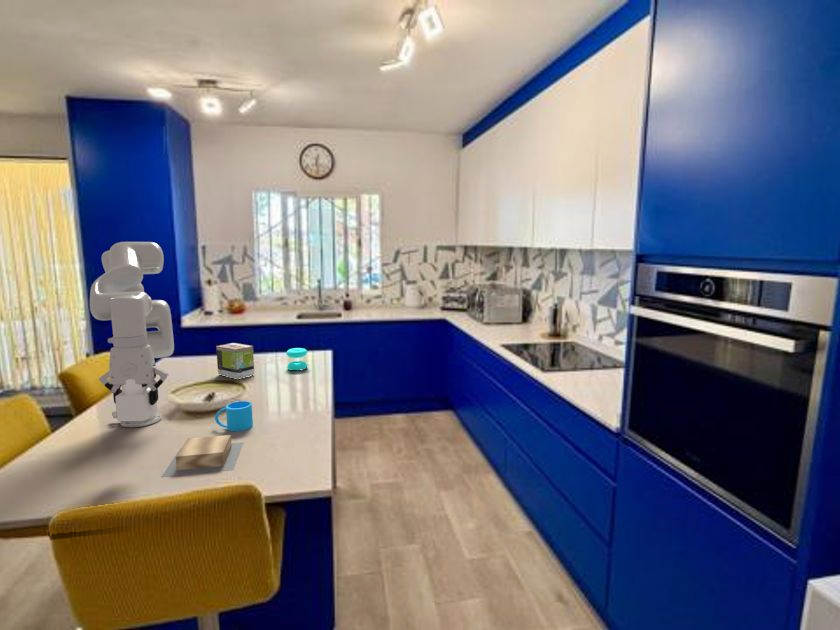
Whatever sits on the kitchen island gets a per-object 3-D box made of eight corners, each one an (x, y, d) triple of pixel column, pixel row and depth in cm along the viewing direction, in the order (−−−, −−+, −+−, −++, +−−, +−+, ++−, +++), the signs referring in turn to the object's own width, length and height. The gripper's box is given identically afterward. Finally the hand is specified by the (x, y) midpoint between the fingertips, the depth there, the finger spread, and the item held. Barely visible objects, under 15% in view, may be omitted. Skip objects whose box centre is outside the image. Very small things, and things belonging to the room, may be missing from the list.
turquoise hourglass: (289, 347, 232) (309, 347, 231) (290, 366, 233) (309, 366, 233) (283, 351, 222) (303, 352, 222) (284, 371, 223) (304, 371, 223)
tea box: (255, 375, 216) (253, 345, 214) (237, 380, 208) (235, 349, 206) (235, 371, 224) (233, 341, 222) (217, 375, 216) (215, 345, 214)
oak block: (176, 470, 123) (175, 456, 123) (188, 451, 135) (187, 438, 134) (223, 465, 126) (223, 452, 125) (231, 447, 138) (230, 434, 137)
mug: (255, 422, 159) (254, 400, 157) (250, 432, 151) (249, 408, 149) (219, 424, 157) (217, 402, 156) (212, 434, 149) (210, 410, 148)
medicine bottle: (131, 411, 128) (127, 370, 126) (158, 411, 128) (154, 370, 126) (117, 421, 121) (112, 378, 119) (145, 421, 121) (141, 378, 119)
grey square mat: (161, 479, 120) (161, 477, 120) (180, 449, 137) (180, 447, 137) (233, 471, 124) (233, 469, 124) (243, 444, 141) (243, 442, 141)
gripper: (87, 346, 115) (94, 411, 118) (162, 343, 119) (167, 407, 122) (100, 339, 123) (107, 401, 125) (170, 337, 126) (175, 397, 129)
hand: (137, 404), depth 124 cm, fingers closed on medicine bottle, 7 cm apart
